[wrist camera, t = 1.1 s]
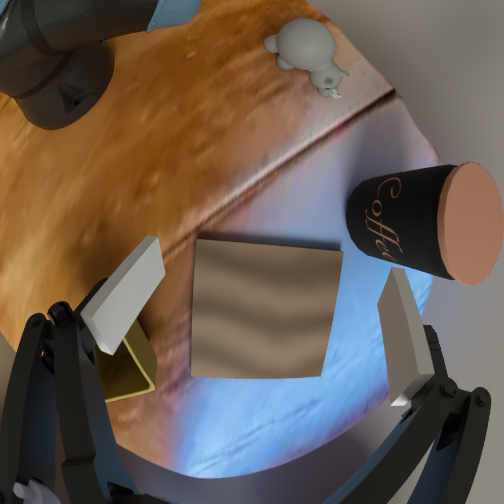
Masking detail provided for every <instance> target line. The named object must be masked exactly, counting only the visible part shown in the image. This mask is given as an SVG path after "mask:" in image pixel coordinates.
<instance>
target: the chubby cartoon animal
mask: <svg viewBox="0 0 504 504" xmlns="http://www.w3.org/2000/svg"><path fill="white" fill-rule="evenodd" d="M264 48H265V49H266V50H267V51H268V52H271V53H277V52H279V54H280V55H278V57H277V65H278V66H279V67H280V68H281V69H284V70H290V69H293V68H294V67H295V68H298V69H302V70H308V71H309V78H310V81H311V82H312V84H313V85H314V86H316V87H317V89H318V92H319V93H320V94H321V95H322V96H325V97H327V98H329V97H334V98H341V97H342V95H339V94H338V93H337V91H338V85H339V84H340V83H341V81H342V77H343V76H348V75H349V73H347V72H345V71H343V70H340V68H339V67H338V66H337V65H336V64H334V63H333V62H332V59H333V57H334V55H335V51H336V41H335V38H334V36H333V34H332V32H331V31H330V30H329V29H328V28H327V27H326V26H325V25H323V24H322V23H320V22H318V21H315V20H312V19H304V18H300V17H298V18H296V19H295V20H293V21H290V22H288V23H287V24H285V25H284V26H283V27H282V28H281V30H280V31H279V33H278V34H275V35H270V36H268V37H267V38H266V39H265V40H264Z"/></svg>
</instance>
